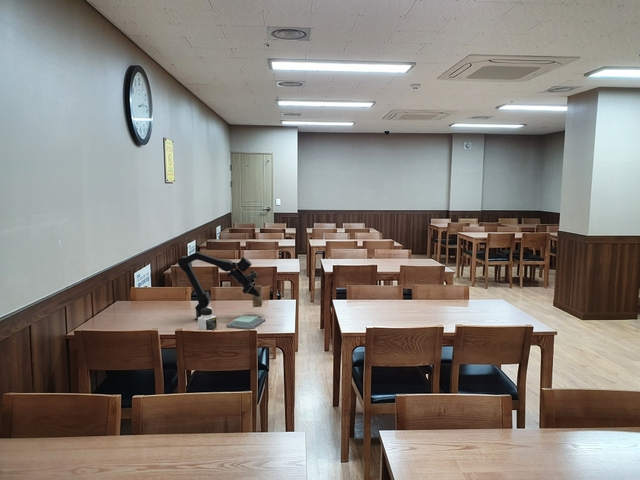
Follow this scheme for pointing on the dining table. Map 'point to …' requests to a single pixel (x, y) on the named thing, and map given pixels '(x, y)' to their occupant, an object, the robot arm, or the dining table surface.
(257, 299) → the walnut pillar
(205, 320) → the medicine bottle
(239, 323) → the base plate
